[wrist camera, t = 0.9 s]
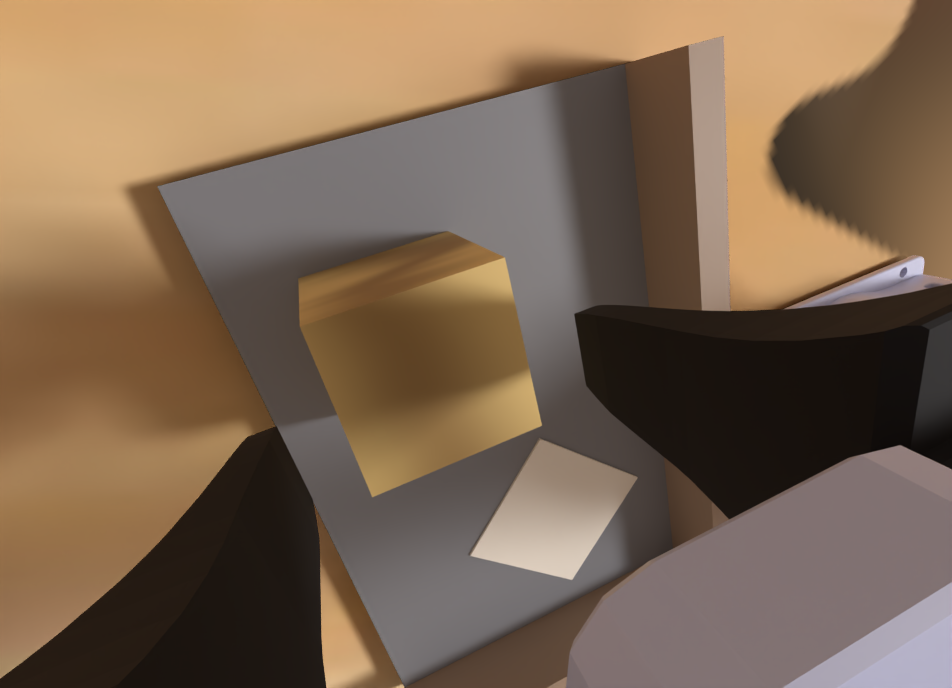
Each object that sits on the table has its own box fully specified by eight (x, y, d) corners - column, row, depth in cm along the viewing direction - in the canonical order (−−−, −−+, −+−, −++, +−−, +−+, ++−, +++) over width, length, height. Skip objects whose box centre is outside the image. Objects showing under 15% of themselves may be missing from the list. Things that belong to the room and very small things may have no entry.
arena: (637, 61, 18) (723, 36, 14) (680, 543, 28) (737, 600, 24) (165, 184, 14) (123, 193, 11) (407, 682, 24) (427, 772, 21)
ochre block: (448, 230, 16) (504, 257, 12) (482, 361, 18) (542, 425, 14) (298, 278, 15) (299, 326, 11) (352, 411, 17) (372, 496, 13)
